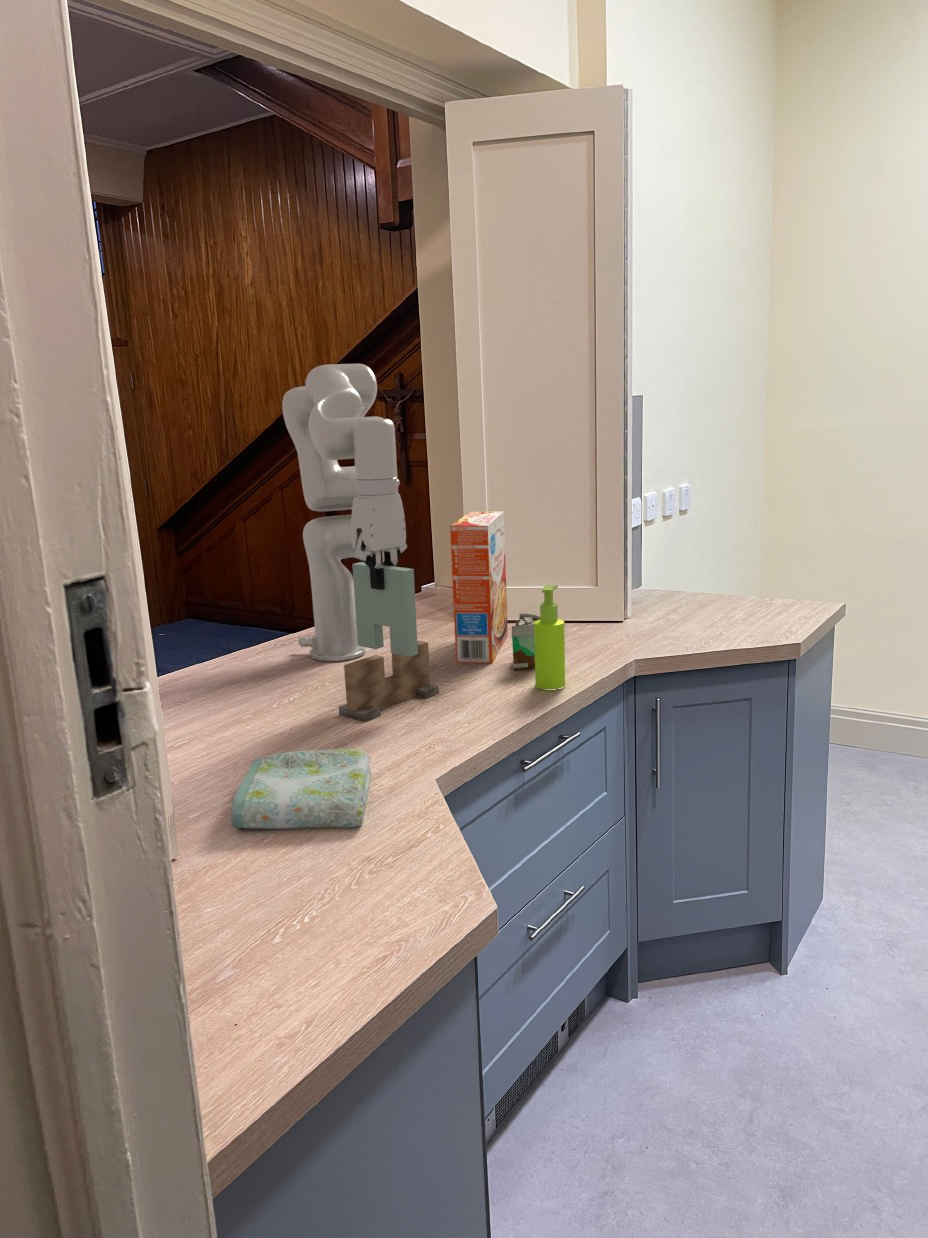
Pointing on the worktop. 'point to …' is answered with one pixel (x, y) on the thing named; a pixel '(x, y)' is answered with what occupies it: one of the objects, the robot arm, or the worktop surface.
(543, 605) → the soap dispenser
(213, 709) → the worktop surface
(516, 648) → the food container
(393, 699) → the walnut slotted board
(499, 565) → the cereal box
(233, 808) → the towel
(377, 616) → the sage slotted plate
